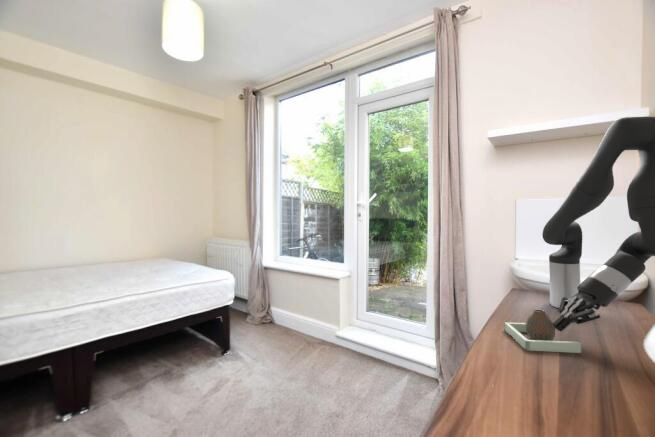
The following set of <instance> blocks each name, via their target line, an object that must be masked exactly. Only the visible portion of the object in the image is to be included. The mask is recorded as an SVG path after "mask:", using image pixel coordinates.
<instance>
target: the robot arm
mask: <svg viewBox="0 0 655 437" xmlns="http://www.w3.org/2000/svg"><path fill="white" fill-rule="evenodd" d="M603 135H604V136H603V137H602V139H601V142H600V143H599V145H598V147H597V149H596V150H595V153H594V155H593V157H592V158H591V161H589V163H588V165H587V167H586V168H585V169H584V171H583V173H582V174H581V175H580V178H578V180H577V182H576V183H575V185H573V187H572V189H571V191H570V192H569V194H568V195H567V197H566V198H565V200H563V202H562V204H561V206H559V208H558V210H556V211H555V213H554V214H553V215H552V216H551V218H550V219H549V220H548V221H547V222H546V223H545V225H544V226H543V229H542V234H541V235H542V239H543V241H544V242H545V243H546V244H547V245H553V246H561V247H560V249H559V250H557V251H555V252H552V253H550V254H549V255H548V256H549V257H548V263H549V266H548V267H549V282H548V283H549V304H550V305H551V307H554V308H556V309H557V308H558V313H559V314H560V316H559V317H558V318H556V319H555V320H554V322H553V324H554V326H555V330H556V331H559V332H563V331H564V330H565V329H566V328H567V327H568V326H569V325H570V324H577V325H581V324H585V323H589V322H591V321H595V320H598V319H600V318H601V315H600V314H599V313H598V311H599V309H600V308H601V307H602V308H607V307H608V306H610V304H612V303H613V302H614V301H615V300H616V299H617V298H618V297H619V296H621V294H623V293H624V292H625V291H626V290H627V289H628V288H629V286H630V285H631V284H632V283H633V282H634V281H635V280H637V279H638V278H639V277H640V276H641V275H642V274H643V273H644V272H645V270H646V265H645V263H646V262H647V261H648V260H649V259H650V258H652V257H655V116H626V117H620V118H617V119H616V120H615V121H614V122H612V124H611V125H610V126H609V127H608V128H607V130H606V132H605V134H603ZM625 151H638V154H639V155H638V156H639V166H638V169H637V171H636V173H635V175H634V177H633V178H632V179H631V181H630V183H629V184H628V188H627V192H626V201H627V209H628V210H627V211H628V215H629V218H630V220H631V221H634V222H636V223H637V224H638V226H639V229H640V231H637V232H633V233H632V234H631V235H629V236H628V237H627V238H626V239H625V240H624V241H623V242H622V243H621V244H620V246H619V247H618V249H617V250H616V252H615V253H614V255H613V256H610V258H609V259H608V260H606V262H604V263H603V264H602V265H601V266H600V267H598V268H597V269H596V270H594V271H592V272H591V273H590V274H589V275H588V276H587V277H586V278H585V279H584V280H583V281H581V263H580V262H581V258H582V254H583V231H582V230H583V229H582V227H581V225H580V224H579V223H578V222H577V220H578V219H580V218H581V217H583V216H585V215H587V214H588V213H591V212H592V211H594V210H595V209H597V208H598V207H599V206H601V205H602V204H603V203H604V202H605V200H606V199H607V198H608V196H609V195H610V194H611V192H612V191H613V189H614V187H615V179H614V178H615V177H614V171H613V167H614V164H615V163H616V162H617V160H618V159H619V157H620V156H621V155H622V154H623V152H625Z"/></svg>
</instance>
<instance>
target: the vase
mask: <svg viewBox="0 0 655 437" xmlns="http://www.w3.org/2000/svg"><path fill="white" fill-rule="evenodd" d="M525 323H526V331H527V332H526V333H527V335H528V337H529V339H530V340H546V341H554V339H555V336H556V329H555V326H554V324H553V323H554V322H553V320H552V319H551V318H550V316H548V315H547V313H546V311H545V310H543V309H537V308H536V309H534V310H533V311H532V313H531V314H530V315H529V316H528V317H527V319H526V322H525Z"/></svg>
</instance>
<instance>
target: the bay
mask: <svg viewBox="0 0 655 437" xmlns="http://www.w3.org/2000/svg"><path fill="white" fill-rule="evenodd" d="M503 323H504V324H503V325H504V326H503V327H504V332H505V333H507V334H508V335H509V336H510V335H511V336H512V337H513V338H512V337H511V336H510V337H511V338H512V339H513V340H514V339H515V340H514V341H515V342H516V343H518V344H519V346H521V347H522V348H523V349H524V350H525V351H528V352H529V351H530V352H534V351H535V352H536V351H537V352H549V353H550V352H554V353H555V352H556V353H571V354H572V353H573V354H582V343H581V342H579V341H569V340H568V341H567V340H566V341H565V340H563V341H562V340H552V341H546V340H532V339H528V338H526V336H524V335H523V334H522V333H527V331H526V322H506V321H505V322H503Z"/></svg>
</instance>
